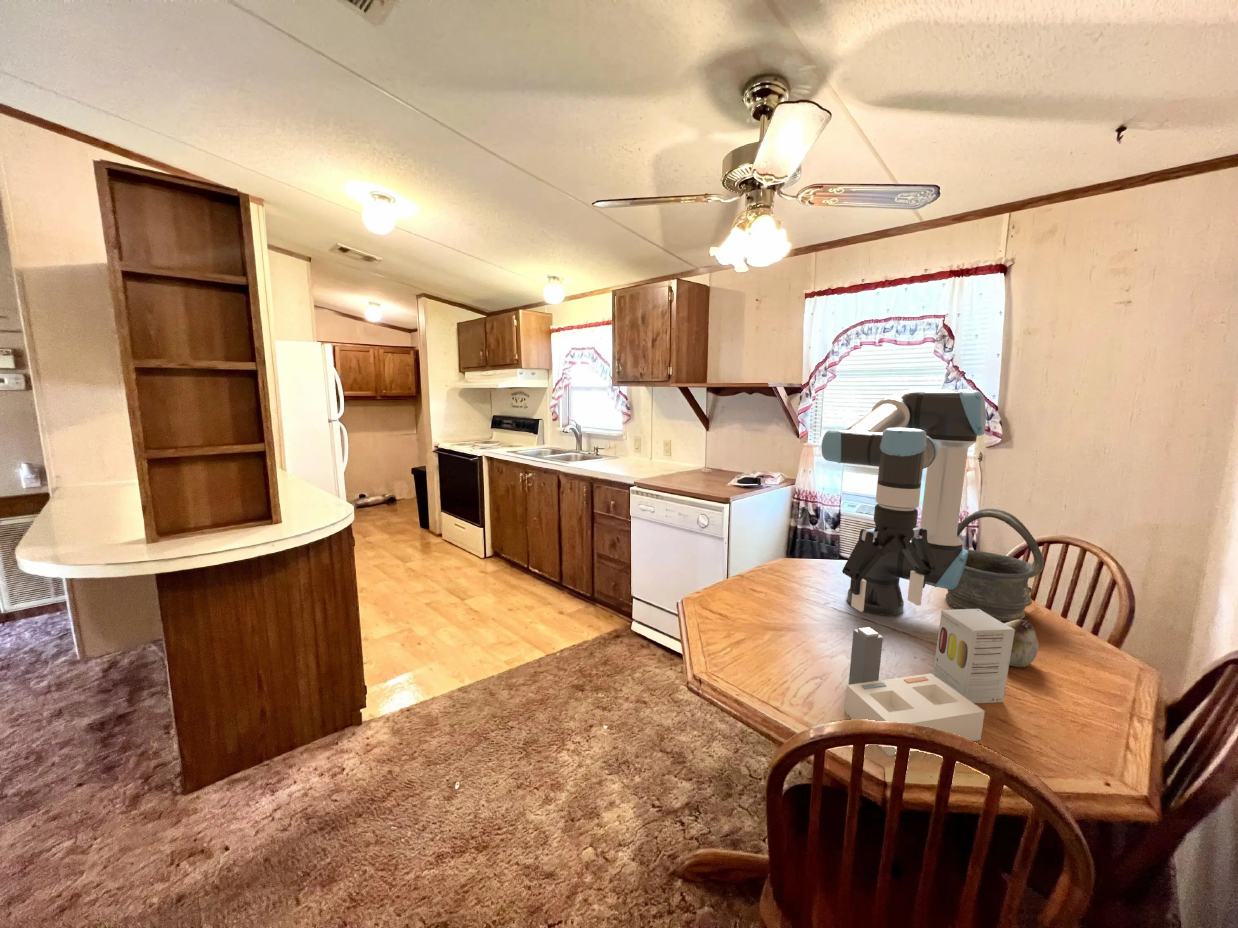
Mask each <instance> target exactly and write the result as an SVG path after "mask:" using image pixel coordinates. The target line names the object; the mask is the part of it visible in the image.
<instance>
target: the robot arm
mask: <svg viewBox="0 0 1238 928" xmlns="http://www.w3.org/2000/svg"><path fill="white" fill-rule="evenodd" d="M986 415H987V413H986V401H985V397H984V394H983V393H982V392H981V391H979V390H974V389H973V390H972V389H963V388H961V389H960V388H959V389H945V388H943V389H940V388H939V389H932V388H931V389H930V388H929V389H925V388H924V389H922V388H921V389H920V388H916V389H909V390H903V391H900V392H897V393H894V394H892V395H889V396H887V397H884V398H883V399H881V400H879V401H878V402H876V403H875V404H874V406H873V407H872V409H871V411H870V412H869V413H867V414H866V415H865V416H862V418H861V419H859V420H857V421H856V422H855V423H853V424H852V425H851V426H849V427H848V428H847V429H845V430H843V429H829V430H827V431H825V433H824V435H823V437H822V440H821V447H820V449H821V455H822V458H823V459H824V460H825V461H828V462H834V463H837V464H847V465H848V464H849V465H858V466H869V467H877V468H878V472H877V473H878V474H877V483H876V493H875V502H876V503H877V504H876V505H874V510H873V511H874V512H873V522H874V525H875V528H868V529H864V528H862V529H861V530H860V531H859V535H858V539H857V542H856V543H855V546H854V548H853V549H852V551H851V553H850V555H849V557H848V559H847V561H846V562H845V564H844V567H843V568H842V570H841V571H842V574H843V575H845V576H847V577H849V578H850V587H849V588H848V591H847V595H846V596H847V597H846V600H847V603H849V604H850V605H851V607H852V608H854V609H856V610H857V611H859V612H865V613H870V614H873V615H878V616H879V615H880V616H897V615H900V614H901V613H903V612H904V607H905V606H904V605H905V602H904V599H903V595H902V594H903V593H902V591H901V587H900V579H904V580H907V581H909V582H908V583H909V584H908V591H907V592H908V593H907V601H908V602H909V603H912V604H914V605H915V606H918V607H919V606H922V597H923V591H924V589H925V587H926V585H928V586H932V587H934V588H940V589H946V590H948V589H954V588H956V587H957V585H958V583H959V581H960V578H961V576H962V573H963V570H964V567H965V564H966V561H967V557H968V551H967V550H968V549H965V548H963V544H964V543H963V541H962V539H960V536H959V537H958V536H957V529H958V524H959V519H960V512H961V505H962V497H963V491H964V490H963V488H964V484H965V483H964V482H965V475H966V466H967V460H968V459H967V458H968V451H969V448H970V447H972V446H973V445H974V444H975V443H977V439H978V437H980V436H984V435H985V433H986V432H985V431H986V423H987V418H986ZM924 469H926V474H925V483H924V490H923V499H922V506H921V507H922V508H921V516H920V523H919V526H918V525H917V523H918V518H919V517H918V515H919V510H918V509H917V508H918V507H919V506H920V498H921V491H922V490H921V489H922V477H923V470H924Z"/></svg>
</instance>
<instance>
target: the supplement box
mask: <svg viewBox="0 0 1238 928" xmlns="http://www.w3.org/2000/svg"><path fill="white" fill-rule="evenodd" d="M940 613H941V614H940V619H939V620H940V621H939V628H938V633H937V634H938V635H937V643H936V649H935V654H934V655H935V657H934V664H933V669H932V670H933V671H932V674H933V675H934V676H935V677H937V678H938V679H940V680H941V681H943V682H944V683H945V684H947V685H948V686H950V687H951V688H953V689H954V690H955V691H957V692H958V693H960V694H961V695H962V696H964V697H965V698H967V699H968V700H970V701H971V702H972V703H974V704H975V705H976V704H991V703H994V704H996V703H1004V699H1005V692H1006V685H1007V680H1008V674H1009V668H1010V665H1009V663H1010V656H1011V650H1012V644H1013V638H1014V632H1015V629H1013V628H1011V627H1009V626H1008V625H1006V624H1004V622H1003V621H999V620H997V619H995V618H993V617H992V616H990V615H988V614H987V613H985V612H983V611H982V610H980V609H957V608H955V609H942V610H941V612H940Z"/></svg>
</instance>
